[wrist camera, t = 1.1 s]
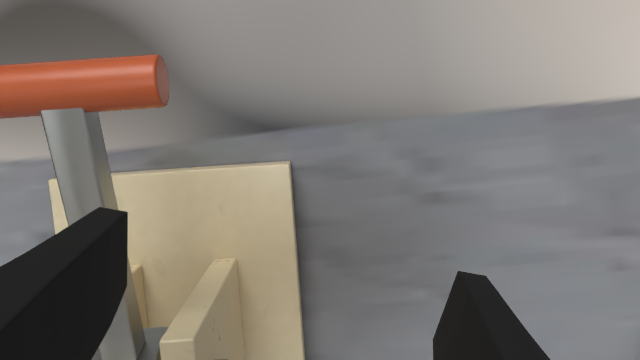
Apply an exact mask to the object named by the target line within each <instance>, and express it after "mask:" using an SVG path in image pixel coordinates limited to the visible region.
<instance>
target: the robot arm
mask: <svg viewBox="0 0 640 360" xmlns="http://www.w3.org/2000/svg"><path fill="white" fill-rule="evenodd" d="M127 251H128V212H126V211H120V210H114V209H109V208H103V207H99V208H97V209H95V210H93V211H92V212H90V213H89V214H87V215H85V216H84V217H82V218H81V219H79V220H78V221H76V222H74V223H73V224H71V225H70V226H68V227H67V228H65V229H63V230H62V231H60V232H59V233H57V234H55V235H54V236H52V237H51V238H49V239H47V240H46V241H44V242H43V243H41V244H39V245H38V246H36V247H34V248H33V249H31V250H29V251H28V252H26V253H24V254H23V255H21V256H19V257H17V258H15V259H14V260H12V261H10V262H8V263H6V264H5V265H3V266H1V267H0V360H92V358H93V356H94V354H95V353H96V351H97V349H98V347H99V346H100V344H101V342H102V340H103V339H104V337H105V335H106V333H107V331H108V330H109V328H110V326H111V324H112V321H113V319H114V317H115V314H116V312H117V310H118V307H119V305H120V302H121V300H122V297H123V295H124V292H125V290H126V287H127ZM433 360H550V359H549V357H548V356H547V355H546V354H545V353H544V351H543V350H542V349H541V348H540V347H539V345H538V344H537V343H536V342H535V340H534V339H533V338H532V337H531V335H530V334H529V333H528V331H527V330H526V329H525V328H524V326H523V325H522V324H521V322H520V321H519V320H518V318H517V317H516V316H515V314H514V313H513V312H512V310H511V309H510V308H509V306H508V305H507V304H506V302H505V301H504V300H503V298H502V297H501V295H500V294H499V293H498V291H497V290H496V289H495V287H494V286H493V285H492V283H491V282H490V281H489V280H488V278H487V277H486V276H483V275H477V274H472V273H466V272H461V271H458V272H457V275H456V278H455V281H454V283H453V286H452V289H451V292H450V294H449V297H448V300H447V303H446V305H445V308H444V311H443V314H442V316H441V319H440V322H439V324H438V327H437V330H436V333H435V335H434V338H433Z"/></svg>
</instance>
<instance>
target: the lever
mask: <svg viewBox="0 0 640 360" xmlns="http://www.w3.org/2000/svg"><path fill="white" fill-rule="evenodd" d="M168 99H169V80H168V73H167V69H166V65H165V63H164V60H163V58H162V57H161V56H160V55H157V54H155V55H141V56H126V57H111V58H97V59H82V60H68V61H54V62H39V63H26V64H10V65H0V118H15V117H29V116H41V118H42V121H43V126H44V130H45V134H46V138H47V142H48V146H49V150H50V154H51V158H52V162H53V166H54V170H55V174H56V179H57V183H58V187H59V191H60V195H61V199H62V203H63V207H64V211H65V215H66V219H67V223H68V226H70V225H71V224H73V223H74V222H76V221H78V220H79V219H81V218H82V217H84V216H85V215H87V214H89V213H90V212H92V211H93V210H95V209H97V208H99V207H103V208H109V209H114V210H118V206H117V201H116V196H115V191H114V186H113V182H112V177H111V172H110V167H109V163H108V158H107V153H106V148H105V143H104V139H103V134H102V129H101V124H100V120H99V115H98V112H102V111H117V110H132V109H146V108H161V107H165V106H166V105H167V103H168ZM167 329H168V327H154V328H143V325H142V320H141V315H140V311H139V306H138V301H137V296H136V292H135V287H134V282H133V277H132V272H131V268H130V263H129V258H128V253H127V287H126V290H125V292H124V295H123V297H122V300H121V302H120V305H119V307H118V310H117V312H116V314H115V317H114V319H113V321H112V324H111V326H110V328H109V330H108V331H107V333H106V335H105V337H104V339H103V340H102V342H101V344H100V346H99V347H98V349H97V351H96V353H95V354H94V356H93V358H92V360H161V356H160V347H159V342H160V340H161V338H162V337H163V335H164V334H165V332H166V331H167Z"/></svg>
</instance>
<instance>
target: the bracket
mask: <svg viewBox="0 0 640 360" xmlns="http://www.w3.org/2000/svg"><path fill="white" fill-rule="evenodd" d="M111 177H112V182H113V186H114V191H115V196H116V201H117V206H118V210H120V211H126V212H128V251H127V253H128V258H129V263H130V268H131V272H132V277H133V282H134V287H135V292H136V296H137V301H138V306H139V311H140V315H141V320H142V325H143V328H154V327H168V329H167V331H166V332H165V334H164V335H163V337H162V338H161V340H160V342H159V347H160V356H161V360H305V347H304V334H303V320H302V307H301V293H300V280H299V267H298V253H297V240H296V226H295V213H294V199H293V186H292V173H291V162H290V161H280V162H265V163H250V164H235V165H220V166H206V167H191V168H176V169H161V170H147V171H132V172H117V173H111ZM49 189H50V196H51V204H52V212H53V219H54V227H55V234H57V233H59V232H60V231H62V230H63V229H65V228H67V227H68V223H67V219H66V215H65V211H64V207H63V203H62V199H61V195H60V191H59V187H58V183H57V179H56V178H53V179H50V180H49Z"/></svg>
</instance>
